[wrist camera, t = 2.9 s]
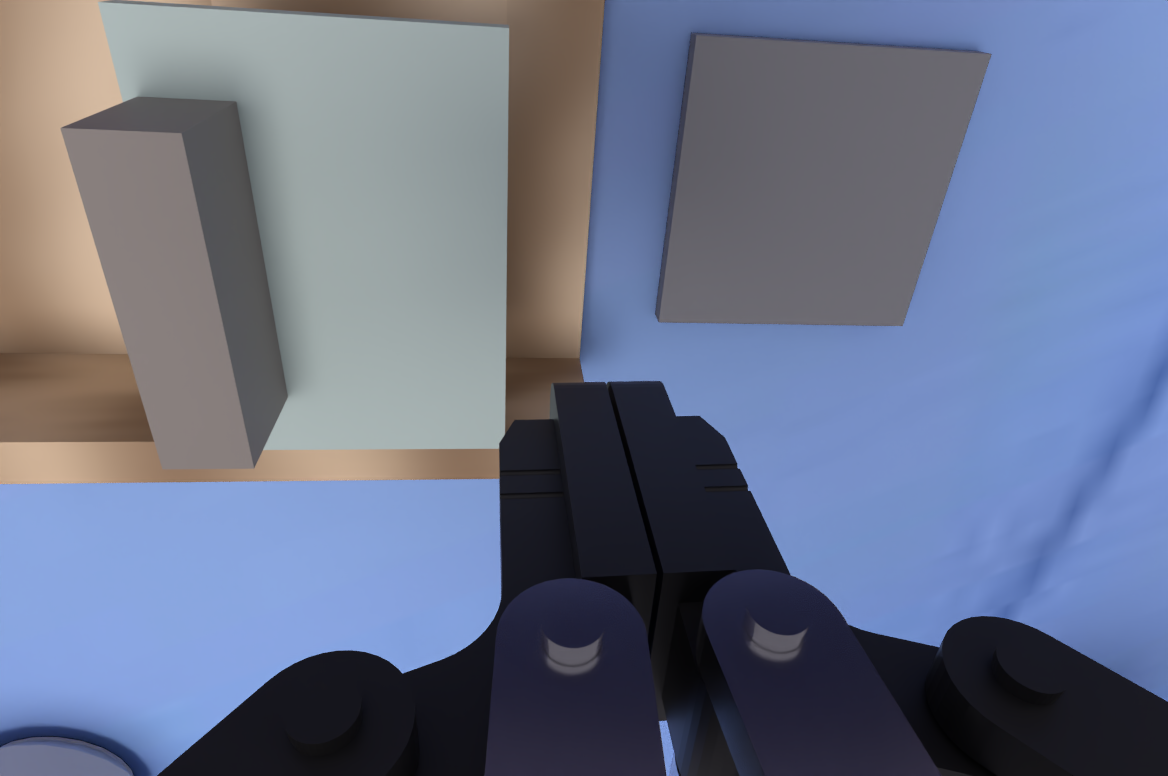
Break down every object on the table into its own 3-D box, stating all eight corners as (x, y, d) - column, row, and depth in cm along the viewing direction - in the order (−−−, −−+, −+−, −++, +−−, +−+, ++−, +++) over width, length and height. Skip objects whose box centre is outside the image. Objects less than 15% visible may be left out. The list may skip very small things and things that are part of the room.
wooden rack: (601, -67, 17) (640, -73, 12) (572, 368, 23) (591, 477, 19) (-356, -143, 15) (-771, -187, 10) (-106, 363, 21) (-287, 487, 16)
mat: (978, 51, 19) (991, 53, 19) (893, 317, 24) (902, 326, 23) (691, 32, 19) (696, 35, 18) (655, 313, 23) (658, 322, 22)
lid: (508, 24, 13) (511, 44, 10) (504, 433, 17) (505, 521, 15) (115, -1, 12) (5, 14, 9) (219, 434, 16) (166, 527, 14)
